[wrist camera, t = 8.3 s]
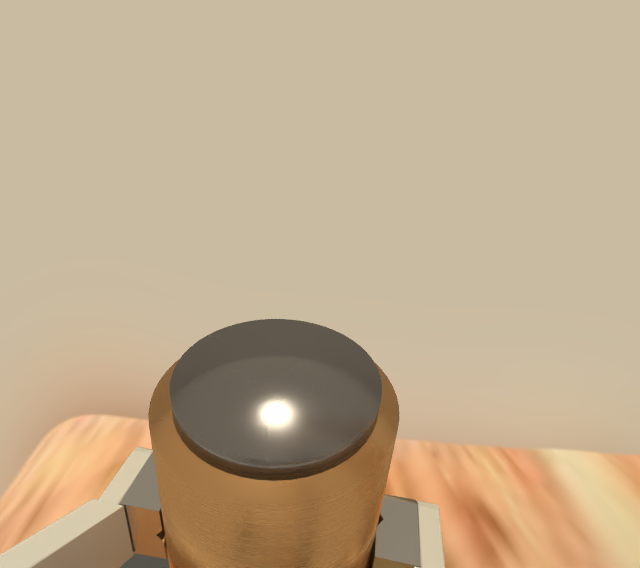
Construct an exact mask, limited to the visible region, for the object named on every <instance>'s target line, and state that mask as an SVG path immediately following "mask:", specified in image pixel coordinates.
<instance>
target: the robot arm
mask: <svg viewBox="0 0 640 568" xmlns="http://www.w3.org/2000/svg"><path fill="white" fill-rule="evenodd" d="M133 553H137V554H142V555H147V556H153V557H158V558H163V559H167V556H168V551H167V545H166V538H165V531H164V524H163V517H162V511H161V504H160V497H159V490H158V483H157V476H156V470H155V463H154V456H153V450H152V449H147V448H142V447H137V448H136V449H135V450H134V451H132V453H131V454H130V455H129V457H128V458H127V460H126V461H125V462H124V464H123V465H122V467H121V468H120V469H119V471H118V472H117V474H116V475H115V476H114V478H113V479H112V481H111V482H110V484H109V485H108V486H107V488H106V489H105V491H104V492H103V493H102V495H101V496H100V498H99V499H98V500H95V499H92V500H90V501H88V502H87V503H85V504H83V505H82V506H80V507H78V508H77V509H75V510H73V511H72V512H70V513H68V514H67V515H65V516H63V517H62V518H60V519H58V520H57V521H55V522H54V523H52V524H50V525H49V526H47V527H45V528H44V529H42V530H40V531H39V532H37V533H35V534H34V535H32V536H30V537H29V538H27V539H25V540H24V541H22V542H20V543H19V544H17V545H15V546H14V547H12V548H10V549H9V550H7V551H5V552H4V553H2V554H0V568H119V567H121V566H122V565H123V564H124V563H125V562H126V561H128V560H129V559H130V558H131V557H132V556H133V555H134V554H133ZM369 568H445V563H444V553H443V543H442V533H441V523H440V513H439V508H438V506H437V504H433V503H427V502H422V501H416V500H414V499H409V498H403V497H397V496H392V495H386V494H384V496H383V501H382V506H381V511H380V515H379V520H378V525H377V530H376V534H375V539H374V544H373V549H372V553H371V558H370V563H369Z"/></svg>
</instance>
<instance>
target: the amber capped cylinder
mask: <svg viewBox="0 0 640 568" xmlns="http://www.w3.org/2000/svg"><path fill="white" fill-rule="evenodd" d="M398 423H399V405H398V401H397V396H396V394H395V391H394V389H393V386H392V384H391V383H390V381H389V379H388V378H387V376H386V375H385V374H384V372H383V371H382V370H381V369H380V367H379V366H378V365H377V364H376V363H374V361H373V360H372V358H371V357H370V356H369V355H368V354H367V352H366V351H365V350H364V349H363V348H361V347H360V346H359V345H358V344H357V343H355V342H354V341H353V340H351V339H349V338H348V337H346V336H345V335H343V334H341V333H338V332H336V331H334V330H332V329H329V328H327V327H323V326H320V325H317V324H313V323H308V322H304V321H296V320H285V319H266V320H255V321H249V322H244V323H240V324H235V325H232V326H228V327H226V328H223V329H220V330H218V331H216V332H214V333H211V334H210V335H207V336H206V337H204V338H203V339H201V340H199V341H198V342H197V343H195V344H194V345H193V346H192V347H190V348H189V349H188V350H187V351H186V352H185V353H184V354H183V355H182V357H181V358H180V359H179V360H178V361H177V362H175V363H174V364H173V365H172V366H171V367H170V368H169V370H167V372H166V373H165V374H164V375H163V377H162V378H161V380H160V381H159V383H158V385H157V387H156V388H155V391H154V393H153V396H152V399H151V402H150V408H149V429H150V435H151V442H152V449H153V456H154V463H155V470H156V476H157V483H158V490H159V497H160V504H161V511H162V517H163V524H164V531H165V538H166V545H167V551H168V558H169V565H170V568H369V563H370V558H371V553H372V549H373V544H374V539H375V534H376V530H377V525H378V520H379V515H380V511H381V506H382V501H383V496H384V492H385V487H386V482H387V477H388V473H389V468H390V463H391V458H392V454H393V449H394V444H395V439H396V435H397V430H398Z"/></svg>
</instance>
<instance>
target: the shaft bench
mask: <svg viewBox="0 0 640 568" xmlns="http://www.w3.org/2000/svg"><path fill="white" fill-rule="evenodd" d="M133 554H134V555H133V556H132V557H131V558H130V559H129V560H128V561H126V562H125V563H124V564H123V565H122V566H121V567H119V568H170V565H169V558H168V556H167V559H163V558H158V557H153V556H147V555H142V554H137V553H133Z"/></svg>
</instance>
